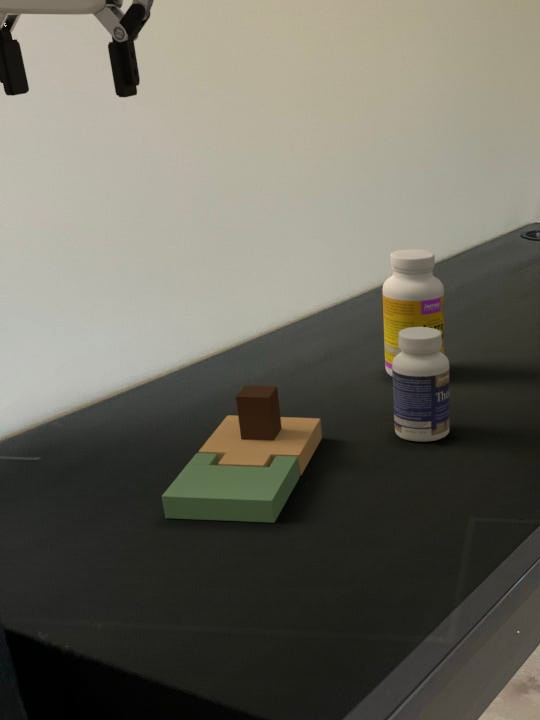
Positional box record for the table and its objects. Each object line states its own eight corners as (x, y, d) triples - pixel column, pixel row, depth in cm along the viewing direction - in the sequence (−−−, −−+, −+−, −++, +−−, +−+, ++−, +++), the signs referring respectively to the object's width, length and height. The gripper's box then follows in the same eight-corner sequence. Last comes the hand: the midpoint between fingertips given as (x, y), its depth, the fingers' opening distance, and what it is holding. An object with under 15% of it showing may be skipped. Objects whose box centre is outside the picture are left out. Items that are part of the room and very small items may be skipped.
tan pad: (192, 483, 86) (181, 417, 82) (230, 434, 95) (221, 373, 92) (294, 487, 85) (288, 421, 82) (322, 438, 95) (317, 376, 92)
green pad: (165, 518, 80) (161, 496, 79) (199, 473, 87) (196, 452, 86) (274, 523, 79) (272, 500, 78) (299, 477, 87) (297, 456, 86)
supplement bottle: (424, 386, 107) (421, 263, 100) (374, 376, 110) (368, 255, 103) (455, 370, 112) (455, 251, 105) (407, 360, 115) (403, 244, 108)
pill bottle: (446, 444, 94) (445, 342, 88) (390, 442, 94) (386, 339, 89) (452, 424, 98) (452, 325, 93) (399, 422, 98) (395, 323, 93)
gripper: (151, -154, 78) (185, 93, 87) (-60, -154, 79) (-5, 90, 88) (115, -167, 72) (155, 100, 81) (-114, -167, 73) (-48, 97, 82)
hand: (72, 95), depth 85 cm, fingers open, 9 cm apart
